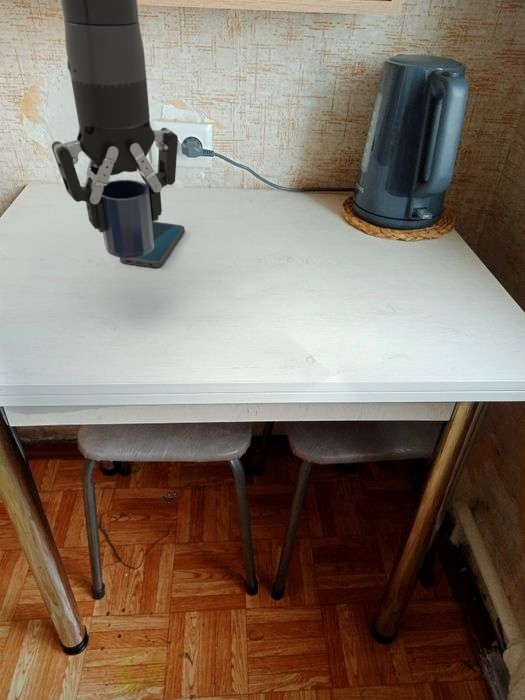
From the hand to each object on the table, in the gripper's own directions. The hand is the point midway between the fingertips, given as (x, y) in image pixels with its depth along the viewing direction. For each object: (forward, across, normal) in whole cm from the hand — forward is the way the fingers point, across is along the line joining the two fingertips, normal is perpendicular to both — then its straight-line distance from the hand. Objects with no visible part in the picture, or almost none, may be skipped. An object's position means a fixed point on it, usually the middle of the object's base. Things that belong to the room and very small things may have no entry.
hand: (127, 223), depth 63 cm
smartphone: (+17, +12, +22) cm, 30 cm away
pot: (+3, 0, 0) cm, 3 cm away
